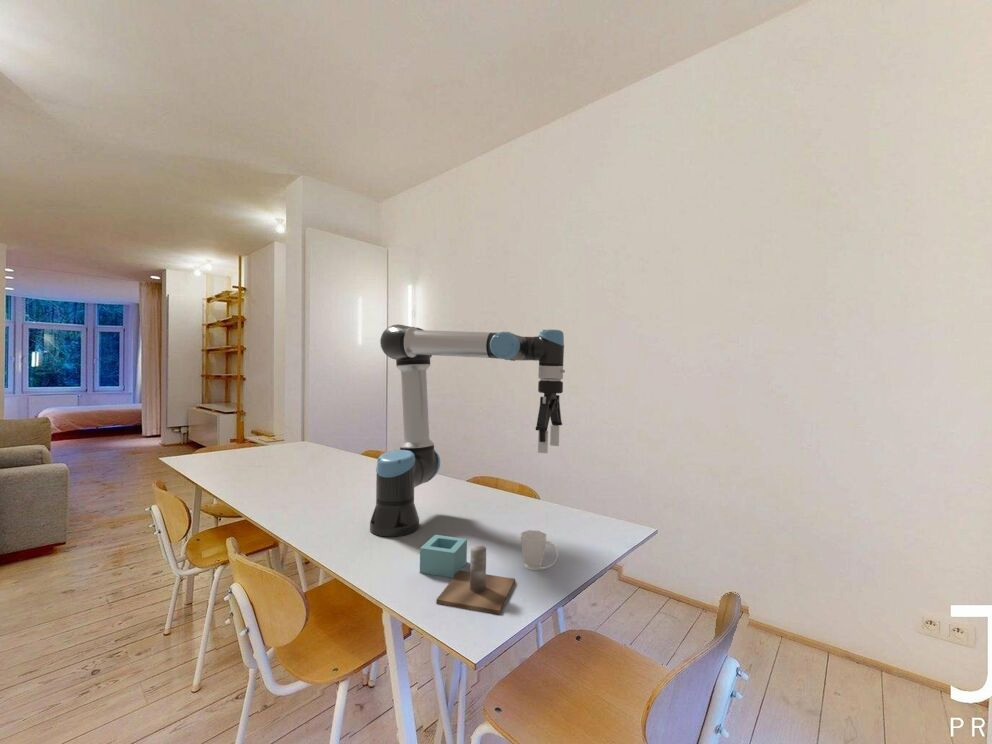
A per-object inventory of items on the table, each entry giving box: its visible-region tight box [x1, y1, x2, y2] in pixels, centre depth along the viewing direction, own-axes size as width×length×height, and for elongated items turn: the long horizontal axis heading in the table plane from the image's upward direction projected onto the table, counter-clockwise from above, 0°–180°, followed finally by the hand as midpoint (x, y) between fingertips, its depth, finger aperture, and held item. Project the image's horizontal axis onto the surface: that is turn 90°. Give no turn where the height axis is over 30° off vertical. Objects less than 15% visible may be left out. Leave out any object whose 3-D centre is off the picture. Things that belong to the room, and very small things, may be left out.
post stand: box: [435, 544, 516, 615], centre depth 95 cm, size 14×14×10 cm
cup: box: [520, 530, 559, 571], centre depth 108 cm, size 7×10×8 cm
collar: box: [419, 534, 468, 579], centre depth 107 cm, size 9×9×6 cm
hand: (548, 449), depth 131 cm, fingers open, 13 cm apart
